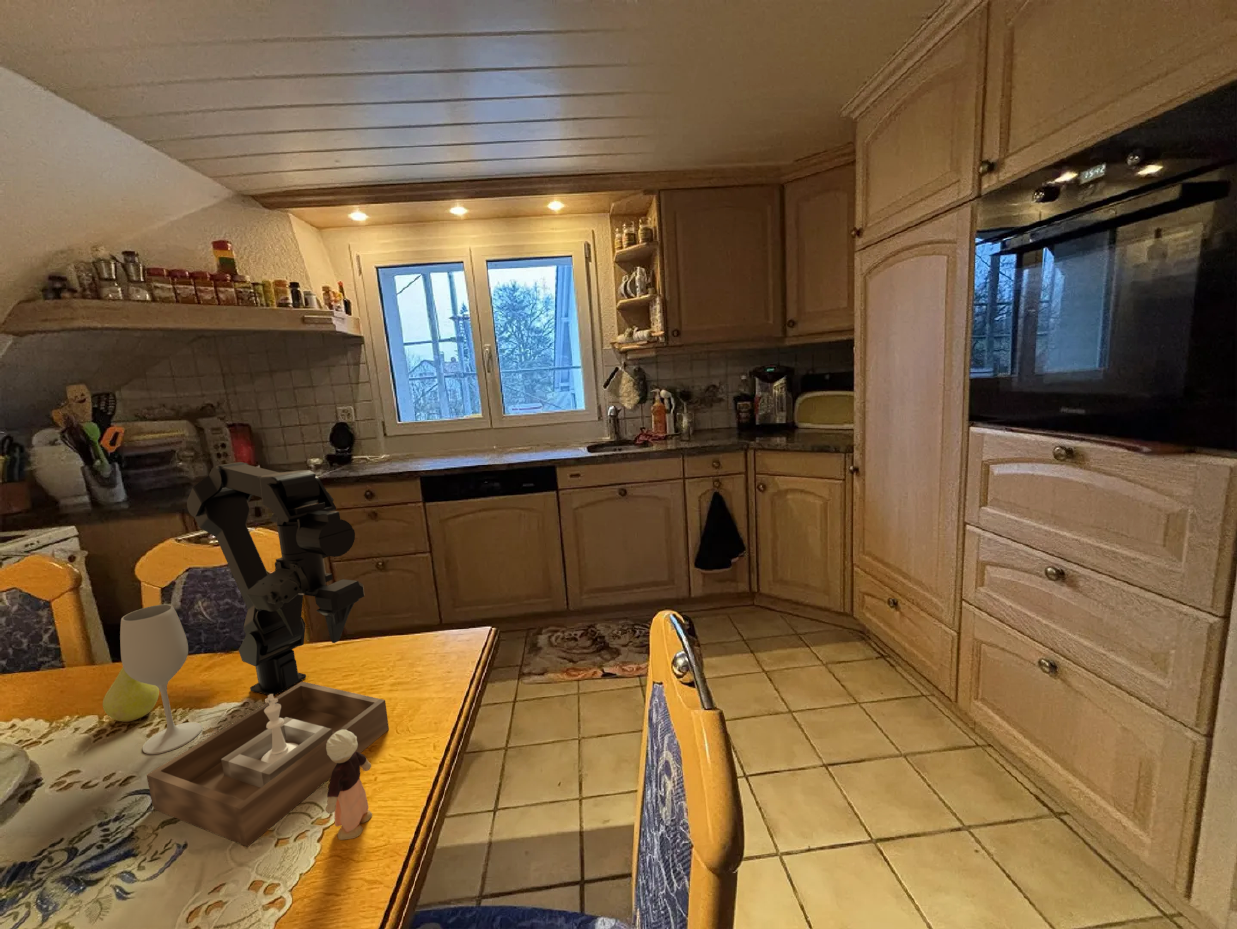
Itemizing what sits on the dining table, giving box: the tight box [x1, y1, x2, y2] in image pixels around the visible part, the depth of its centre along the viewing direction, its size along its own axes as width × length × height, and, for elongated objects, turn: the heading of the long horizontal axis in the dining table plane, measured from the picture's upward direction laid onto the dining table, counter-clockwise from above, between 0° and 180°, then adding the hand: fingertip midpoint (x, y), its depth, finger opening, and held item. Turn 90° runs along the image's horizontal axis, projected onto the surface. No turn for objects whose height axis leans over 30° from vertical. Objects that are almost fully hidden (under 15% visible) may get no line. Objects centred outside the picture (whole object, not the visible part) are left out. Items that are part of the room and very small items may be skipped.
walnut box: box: [146, 681, 390, 848], centre depth 75 cm, size 18×22×5 cm
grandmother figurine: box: [325, 730, 373, 841], centre depth 63 cm, size 8×4×13 cm, turn 5°
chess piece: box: [261, 694, 298, 764], centre depth 74 cm, size 5×5×10 cm
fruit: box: [102, 667, 160, 722], centre depth 88 cm, size 7×8×12 cm
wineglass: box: [119, 603, 203, 755], centre depth 81 cm, size 8×8×21 cm
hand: (315, 638), depth 88 cm, fingers open, 9 cm apart
